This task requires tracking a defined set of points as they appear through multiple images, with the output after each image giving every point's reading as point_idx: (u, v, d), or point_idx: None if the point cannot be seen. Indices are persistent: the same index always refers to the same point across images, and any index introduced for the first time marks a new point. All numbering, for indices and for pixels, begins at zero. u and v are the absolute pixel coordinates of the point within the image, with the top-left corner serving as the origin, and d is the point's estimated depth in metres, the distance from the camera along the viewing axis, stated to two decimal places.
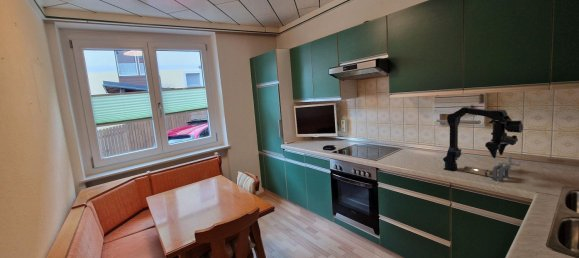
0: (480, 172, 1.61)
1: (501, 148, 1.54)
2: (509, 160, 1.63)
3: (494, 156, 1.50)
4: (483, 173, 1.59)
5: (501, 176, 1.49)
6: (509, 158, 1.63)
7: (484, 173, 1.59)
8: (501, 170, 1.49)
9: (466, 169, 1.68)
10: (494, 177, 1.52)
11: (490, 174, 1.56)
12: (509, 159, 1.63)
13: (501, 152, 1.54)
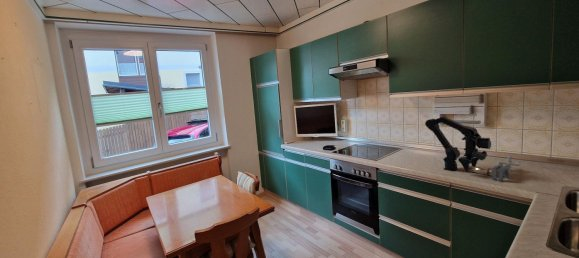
0: (483, 168, 1.63)
1: (474, 162, 1.69)
2: (509, 160, 1.63)
3: (466, 170, 1.65)
4: (486, 169, 1.61)
5: (501, 176, 1.49)
6: (509, 158, 1.63)
7: (487, 169, 1.61)
8: (501, 170, 1.49)
9: (469, 166, 1.70)
10: (494, 177, 1.52)
11: None
12: (509, 159, 1.63)
13: None
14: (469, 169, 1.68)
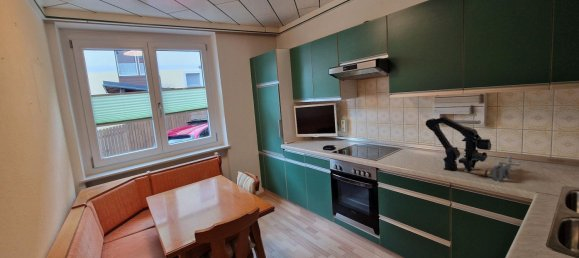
0: (480, 172, 1.61)
1: (472, 164, 1.68)
2: (509, 160, 1.63)
3: (468, 170, 1.66)
4: (483, 173, 1.59)
5: (501, 176, 1.49)
6: (509, 158, 1.63)
7: (484, 173, 1.59)
8: (501, 170, 1.49)
9: (466, 169, 1.68)
10: (494, 177, 1.52)
11: (490, 174, 1.56)
12: (509, 159, 1.63)
13: None
14: (468, 172, 1.68)
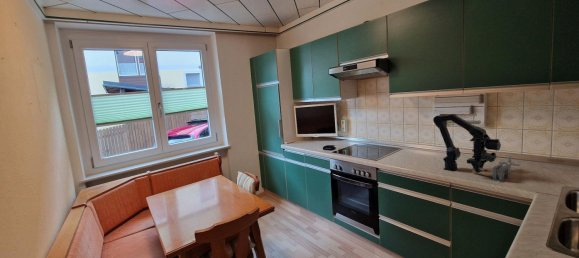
0: (489, 174, 1.57)
1: (480, 165, 1.64)
2: (509, 160, 1.63)
3: (477, 171, 1.62)
4: (492, 175, 1.55)
5: (501, 176, 1.49)
6: (509, 158, 1.63)
7: None
8: (501, 170, 1.49)
9: (474, 170, 1.63)
10: (494, 177, 1.52)
11: None
12: (509, 159, 1.63)
13: None
14: None
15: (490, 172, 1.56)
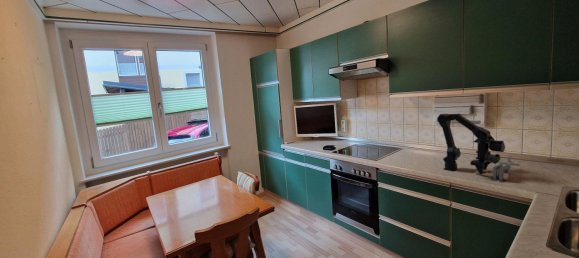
0: None
1: (484, 166, 1.62)
2: (509, 160, 1.63)
3: (480, 172, 1.60)
4: None
5: (501, 176, 1.49)
6: (509, 158, 1.63)
7: (497, 176, 1.53)
8: (501, 170, 1.49)
9: (478, 172, 1.62)
10: (494, 177, 1.52)
11: (503, 177, 1.50)
12: (509, 159, 1.63)
13: None
14: (480, 174, 1.62)
15: None
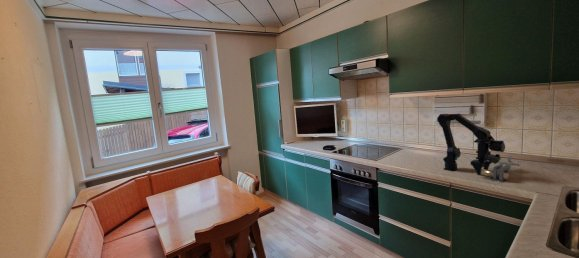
0: None
1: (486, 165, 1.63)
2: (509, 160, 1.63)
3: (478, 173, 1.59)
4: None
5: (501, 176, 1.49)
6: (509, 158, 1.63)
7: (497, 175, 1.53)
8: (501, 170, 1.49)
9: None
10: (494, 177, 1.52)
11: (504, 176, 1.51)
12: (509, 159, 1.63)
13: (486, 169, 1.63)
14: (480, 174, 1.62)
15: None
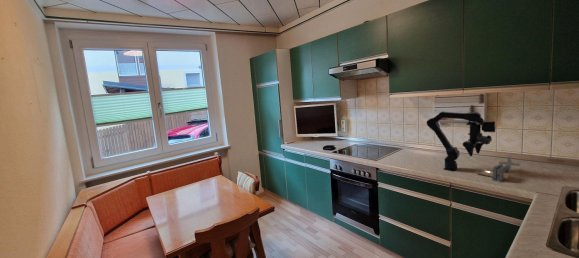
0: None
1: (478, 147, 1.68)
2: (509, 160, 1.63)
3: (470, 154, 1.64)
4: (497, 174, 1.54)
5: (501, 176, 1.49)
6: (509, 158, 1.63)
7: (497, 174, 1.54)
8: (501, 170, 1.49)
9: (478, 170, 1.62)
10: (494, 177, 1.52)
11: (504, 175, 1.51)
12: (509, 159, 1.63)
13: (478, 151, 1.68)
14: (480, 174, 1.62)
15: None
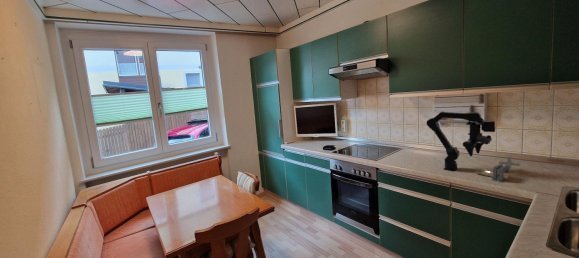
0: None
1: (478, 147, 1.68)
2: (509, 160, 1.63)
3: (470, 154, 1.64)
4: (497, 174, 1.54)
5: (501, 176, 1.49)
6: (509, 158, 1.63)
7: (497, 174, 1.54)
8: (501, 170, 1.49)
9: (478, 170, 1.62)
10: (494, 177, 1.52)
11: (504, 175, 1.51)
12: (509, 159, 1.63)
13: (478, 151, 1.68)
14: (480, 174, 1.62)
15: None
